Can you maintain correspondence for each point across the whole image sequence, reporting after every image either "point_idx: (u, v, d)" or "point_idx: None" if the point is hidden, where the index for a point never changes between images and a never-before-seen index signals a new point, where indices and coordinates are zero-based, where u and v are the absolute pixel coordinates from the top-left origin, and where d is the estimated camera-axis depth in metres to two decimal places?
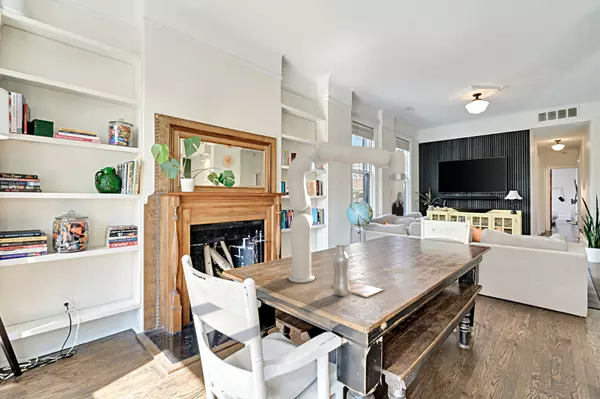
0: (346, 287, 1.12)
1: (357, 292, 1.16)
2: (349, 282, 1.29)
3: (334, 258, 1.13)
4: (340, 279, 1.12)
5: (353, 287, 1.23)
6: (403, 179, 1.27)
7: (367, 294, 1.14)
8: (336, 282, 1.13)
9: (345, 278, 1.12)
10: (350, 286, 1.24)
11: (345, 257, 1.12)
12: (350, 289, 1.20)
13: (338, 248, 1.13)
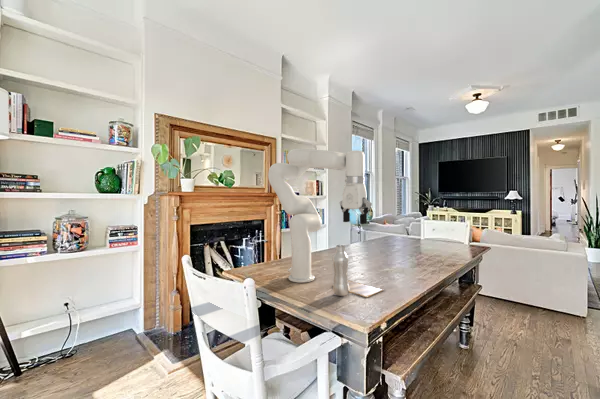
0: (346, 287, 1.12)
1: (357, 292, 1.16)
2: (349, 282, 1.29)
3: (334, 258, 1.13)
4: (340, 279, 1.12)
5: (353, 287, 1.23)
6: (363, 182, 1.14)
7: (367, 294, 1.14)
8: (336, 282, 1.13)
9: (345, 278, 1.12)
10: (350, 286, 1.24)
11: (345, 257, 1.12)
12: (350, 289, 1.20)
13: (338, 248, 1.13)
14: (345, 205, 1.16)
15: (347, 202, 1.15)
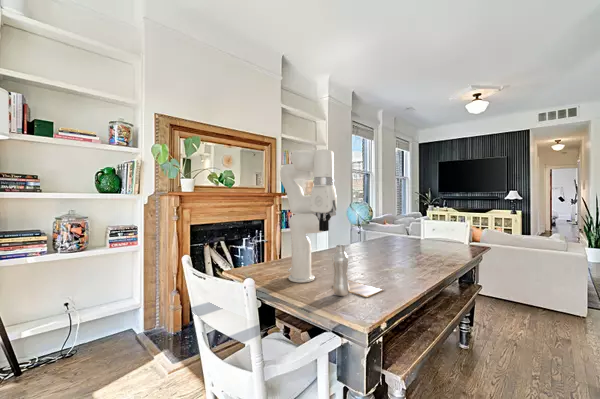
0: (346, 287, 1.12)
1: (357, 292, 1.16)
2: (349, 282, 1.29)
3: (334, 258, 1.13)
4: (340, 279, 1.12)
5: (353, 287, 1.23)
6: (333, 184, 1.06)
7: (367, 294, 1.14)
8: (336, 282, 1.13)
9: (345, 278, 1.12)
10: (350, 286, 1.24)
11: (345, 257, 1.12)
12: (350, 289, 1.20)
13: (338, 248, 1.13)
14: (314, 208, 1.07)
15: (316, 205, 1.07)
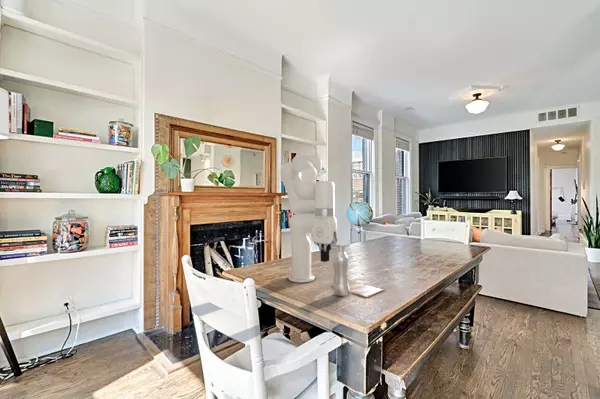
0: (346, 287, 1.12)
1: (357, 292, 1.16)
2: (349, 282, 1.29)
3: (334, 258, 1.13)
4: (340, 279, 1.12)
5: (353, 287, 1.23)
6: (334, 215, 1.07)
7: (367, 294, 1.14)
8: (336, 282, 1.13)
9: (345, 278, 1.12)
10: (350, 286, 1.24)
11: (345, 257, 1.12)
12: (350, 289, 1.20)
13: (338, 248, 1.13)
14: (315, 239, 1.08)
15: (317, 236, 1.07)
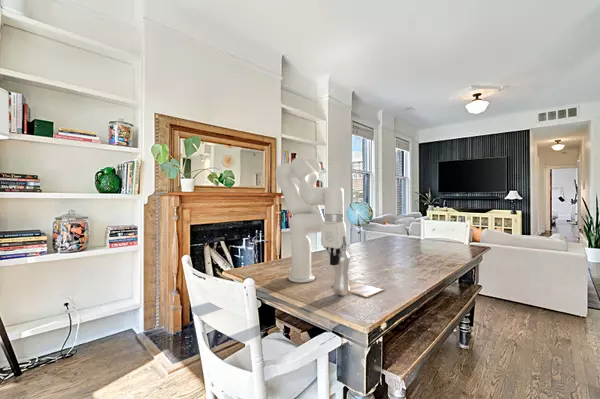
0: (346, 287, 1.12)
1: (357, 292, 1.16)
2: (349, 282, 1.29)
3: None
4: (341, 278, 1.12)
5: (353, 287, 1.23)
6: (343, 220, 1.10)
7: (367, 294, 1.14)
8: (336, 281, 1.13)
9: (346, 278, 1.13)
10: (350, 286, 1.24)
11: (346, 256, 1.13)
12: (350, 289, 1.20)
13: None
14: (324, 243, 1.12)
15: (326, 240, 1.11)
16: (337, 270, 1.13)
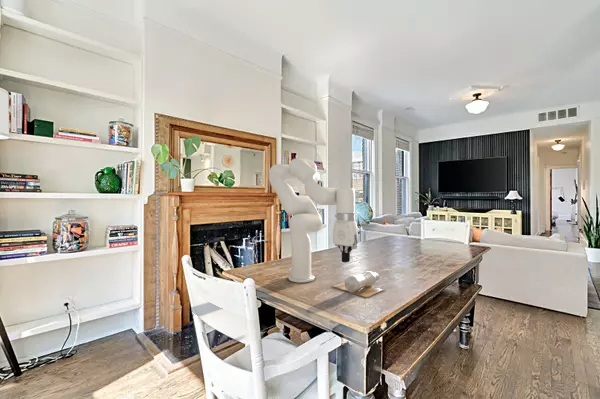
0: (360, 288, 1.16)
1: (357, 292, 1.16)
2: None
3: (371, 272, 1.25)
4: (363, 281, 1.18)
5: None
6: (354, 219, 1.15)
7: (367, 294, 1.14)
8: (360, 277, 1.18)
9: (364, 285, 1.18)
10: None
11: None
12: None
13: (377, 274, 1.27)
14: (336, 241, 1.17)
15: (338, 238, 1.16)
16: (366, 276, 1.21)
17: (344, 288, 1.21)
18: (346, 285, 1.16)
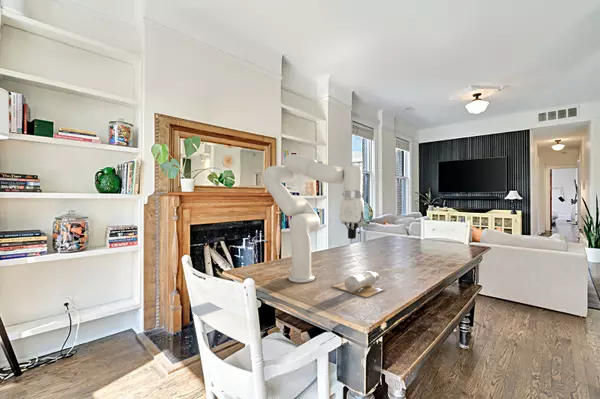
0: (360, 288, 1.16)
1: (357, 292, 1.16)
2: None
3: (371, 272, 1.25)
4: (364, 281, 1.18)
5: None
6: None
7: (367, 294, 1.14)
8: (360, 277, 1.18)
9: (364, 285, 1.18)
10: None
11: (375, 282, 1.24)
12: None
13: (377, 274, 1.27)
14: (343, 218, 1.20)
15: (345, 215, 1.19)
16: (366, 276, 1.21)
17: (344, 288, 1.21)
18: (346, 285, 1.16)
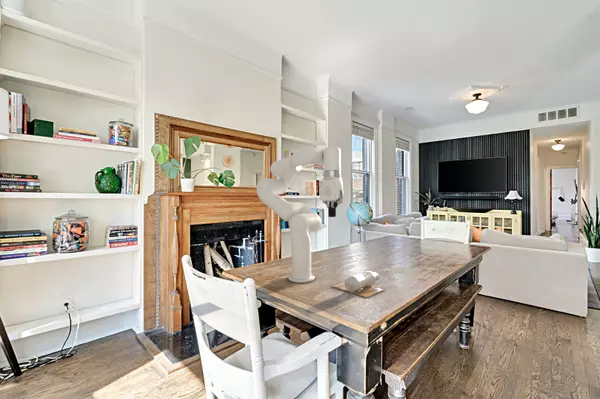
0: (360, 288, 1.16)
1: (357, 292, 1.16)
2: None
3: (371, 272, 1.25)
4: (364, 281, 1.18)
5: None
6: (340, 176, 1.23)
7: (367, 294, 1.14)
8: (360, 277, 1.18)
9: (364, 285, 1.18)
10: None
11: (375, 282, 1.24)
12: None
13: (377, 274, 1.27)
14: (323, 197, 1.24)
15: (325, 195, 1.23)
16: (366, 276, 1.21)
17: (344, 288, 1.21)
18: (346, 285, 1.16)
